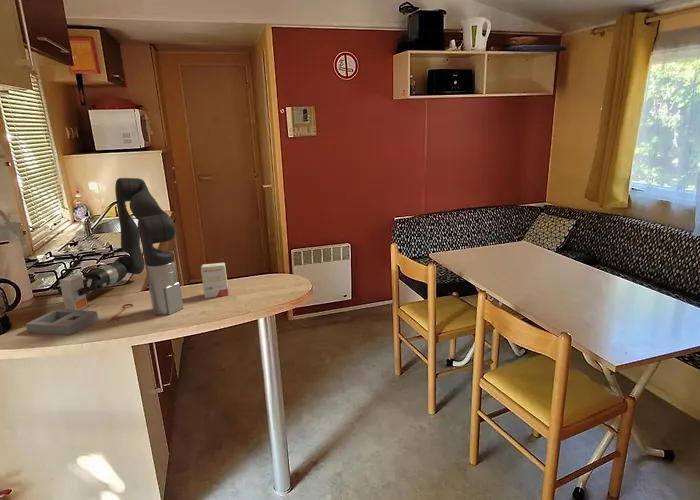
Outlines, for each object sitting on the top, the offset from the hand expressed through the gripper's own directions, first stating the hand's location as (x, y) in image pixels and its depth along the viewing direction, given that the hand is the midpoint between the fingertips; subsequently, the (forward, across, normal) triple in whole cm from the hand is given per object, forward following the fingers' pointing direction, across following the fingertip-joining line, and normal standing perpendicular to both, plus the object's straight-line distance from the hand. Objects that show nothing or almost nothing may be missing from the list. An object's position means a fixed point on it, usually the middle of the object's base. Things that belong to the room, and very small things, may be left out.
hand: (68, 292), depth 162 cm
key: (-1, +19, +8) cm, 21 cm away
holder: (+11, +7, +7) cm, 15 cm away
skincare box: (-2, 0, +7) cm, 7 cm away
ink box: (-21, +44, +7) cm, 50 cm away
